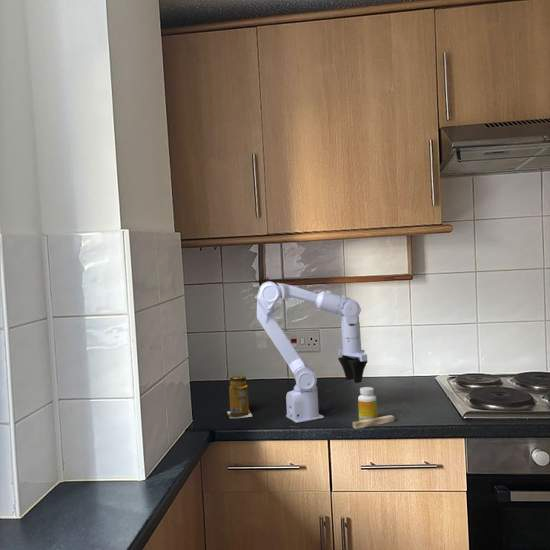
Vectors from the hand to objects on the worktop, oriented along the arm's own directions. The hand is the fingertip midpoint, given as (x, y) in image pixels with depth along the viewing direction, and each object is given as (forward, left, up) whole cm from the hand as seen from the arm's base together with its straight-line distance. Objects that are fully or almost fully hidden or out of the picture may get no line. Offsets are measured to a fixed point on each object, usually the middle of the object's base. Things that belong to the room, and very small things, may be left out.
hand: (353, 380), depth 177 cm
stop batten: (-1, -12, -10) cm, 16 cm away
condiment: (-31, +20, -11) cm, 39 cm away
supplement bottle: (0, -8, -11) cm, 13 cm away
